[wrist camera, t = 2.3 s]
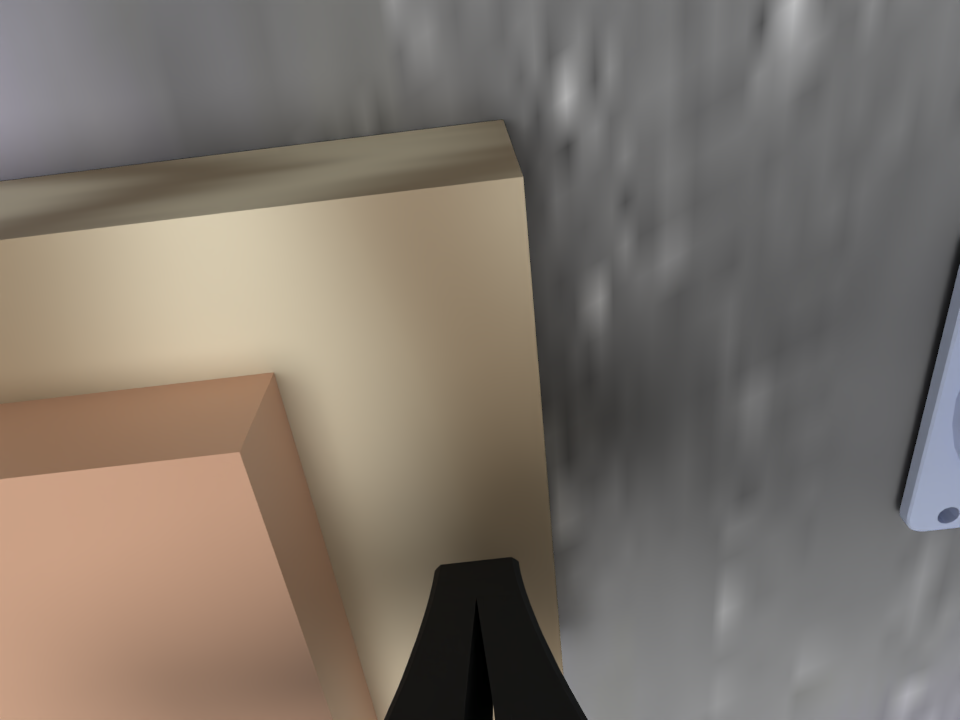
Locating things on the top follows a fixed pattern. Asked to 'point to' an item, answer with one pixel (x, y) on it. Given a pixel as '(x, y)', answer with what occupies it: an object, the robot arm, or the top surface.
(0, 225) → the oak board
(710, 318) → the top surface
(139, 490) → the terracotta tile
